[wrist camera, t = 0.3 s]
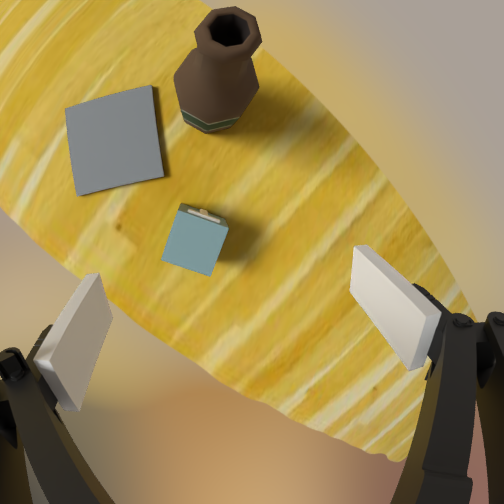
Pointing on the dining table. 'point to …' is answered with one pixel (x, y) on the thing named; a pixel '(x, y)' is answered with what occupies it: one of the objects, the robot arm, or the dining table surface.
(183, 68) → the beer bottle
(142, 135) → the mat
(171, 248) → the letter block
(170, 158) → the dining table surface
